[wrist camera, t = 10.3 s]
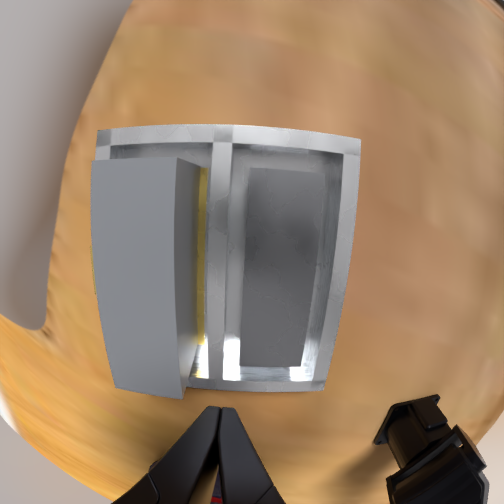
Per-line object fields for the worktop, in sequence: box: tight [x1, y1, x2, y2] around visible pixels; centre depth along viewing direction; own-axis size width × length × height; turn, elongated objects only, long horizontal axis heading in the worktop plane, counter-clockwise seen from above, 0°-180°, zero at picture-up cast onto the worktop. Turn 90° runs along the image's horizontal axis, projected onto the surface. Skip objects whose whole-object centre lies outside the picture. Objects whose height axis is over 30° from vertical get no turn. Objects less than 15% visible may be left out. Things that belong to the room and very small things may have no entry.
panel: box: [91, 157, 201, 399], centre depth 15 cm, size 12×4×6 cm, turn 177°
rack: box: [90, 124, 361, 392], centre depth 17 cm, size 16×15×4 cm
